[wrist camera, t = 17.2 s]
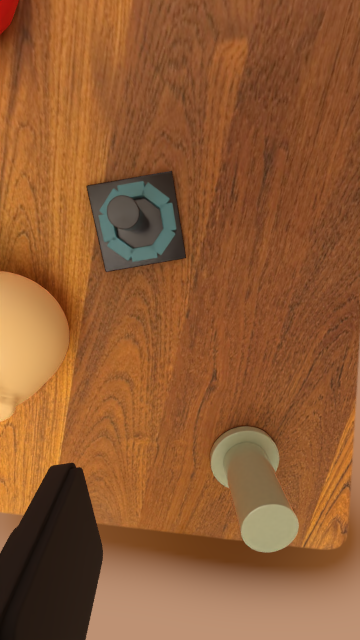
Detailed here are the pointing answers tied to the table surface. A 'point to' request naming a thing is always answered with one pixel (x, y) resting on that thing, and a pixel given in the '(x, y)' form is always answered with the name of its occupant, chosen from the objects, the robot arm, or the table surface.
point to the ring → (167, 217)
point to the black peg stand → (136, 220)
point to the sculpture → (28, 339)
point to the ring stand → (255, 487)
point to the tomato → (7, 13)
